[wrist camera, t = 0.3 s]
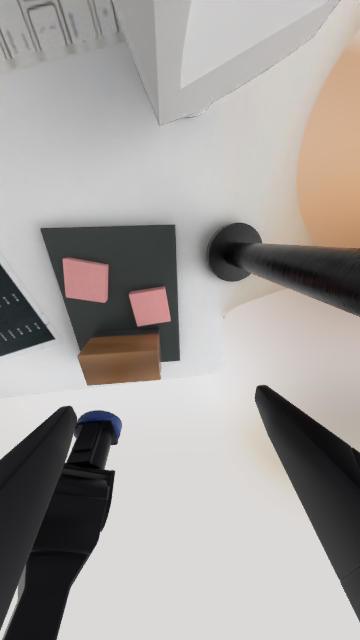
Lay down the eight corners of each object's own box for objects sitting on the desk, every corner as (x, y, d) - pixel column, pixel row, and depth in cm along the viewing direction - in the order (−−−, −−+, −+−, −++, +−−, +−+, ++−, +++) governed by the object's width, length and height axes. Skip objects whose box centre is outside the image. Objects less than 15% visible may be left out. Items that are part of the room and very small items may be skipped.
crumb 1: (107, 299, 20) (104, 303, 19) (70, 294, 20) (65, 297, 19) (108, 264, 19) (105, 265, 18) (68, 257, 18) (62, 258, 17)
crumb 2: (170, 317, 22) (170, 321, 21) (138, 322, 22) (137, 326, 21) (164, 285, 20) (164, 288, 19) (130, 291, 20) (128, 294, 19)
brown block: (161, 353, 24) (160, 379, 19) (101, 357, 23) (87, 385, 19) (159, 327, 22) (157, 350, 18) (94, 331, 22) (76, 355, 17)
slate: (179, 356, 26) (179, 360, 25) (88, 363, 25) (85, 367, 24) (174, 225, 18) (175, 224, 18) (46, 228, 18) (39, 228, 17)
